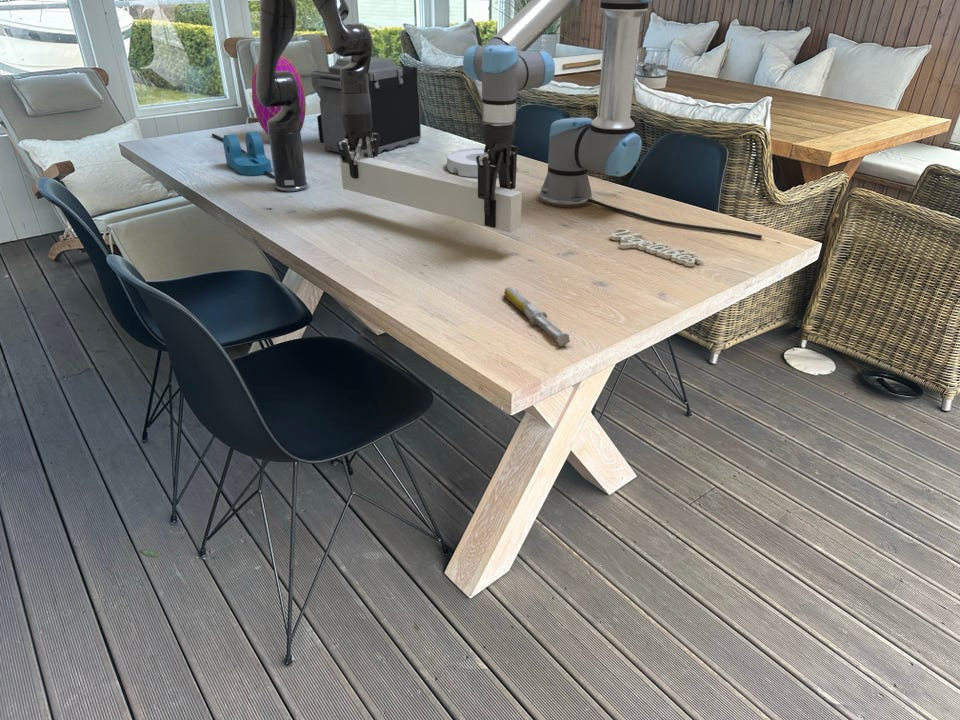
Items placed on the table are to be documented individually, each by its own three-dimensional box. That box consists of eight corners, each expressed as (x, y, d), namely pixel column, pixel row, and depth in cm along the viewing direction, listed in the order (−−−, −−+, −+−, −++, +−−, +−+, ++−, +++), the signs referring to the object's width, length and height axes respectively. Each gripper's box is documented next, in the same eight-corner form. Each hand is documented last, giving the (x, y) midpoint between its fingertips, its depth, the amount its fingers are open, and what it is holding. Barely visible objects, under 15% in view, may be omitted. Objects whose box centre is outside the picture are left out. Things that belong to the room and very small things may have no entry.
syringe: (499, 294, 146) (500, 282, 144) (516, 291, 147) (516, 279, 146) (552, 349, 126) (553, 336, 125) (570, 345, 127) (571, 332, 126)
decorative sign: (596, 235, 174) (621, 227, 180) (596, 239, 175) (620, 230, 181) (684, 266, 157) (708, 256, 163) (684, 270, 158) (708, 260, 164)
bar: (520, 227, 163) (522, 192, 159) (510, 233, 160) (511, 196, 156) (354, 184, 192) (351, 153, 188) (342, 188, 189) (339, 156, 185)
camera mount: (227, 164, 233) (221, 132, 227) (257, 160, 238) (252, 129, 233) (244, 176, 220) (239, 143, 215) (276, 172, 225) (271, 139, 220)
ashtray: (449, 158, 243) (449, 147, 241) (514, 159, 242) (515, 148, 240) (444, 176, 223) (444, 164, 221) (515, 178, 222) (516, 165, 220)
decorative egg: (293, 132, 276) (283, 50, 261) (319, 140, 264) (310, 56, 249) (249, 139, 265) (236, 54, 250) (273, 148, 253) (261, 60, 238)
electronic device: (383, 133, 276) (378, 52, 261) (425, 141, 265) (422, 56, 250) (314, 150, 251) (304, 61, 235) (358, 160, 240) (350, 67, 224)
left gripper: (366, 104, 184) (370, 168, 192) (325, 112, 174) (332, 179, 183) (386, 107, 180) (390, 172, 189) (346, 116, 170) (352, 184, 179)
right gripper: (507, 113, 160) (504, 210, 172) (460, 126, 148) (461, 230, 160) (534, 117, 156) (529, 216, 168) (488, 131, 144) (487, 237, 156)
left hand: (361, 175), depth 186 cm, fingers closed on bar, 4 cm apart
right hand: (496, 222), depth 164 cm, fingers closed on bar, 4 cm apart
